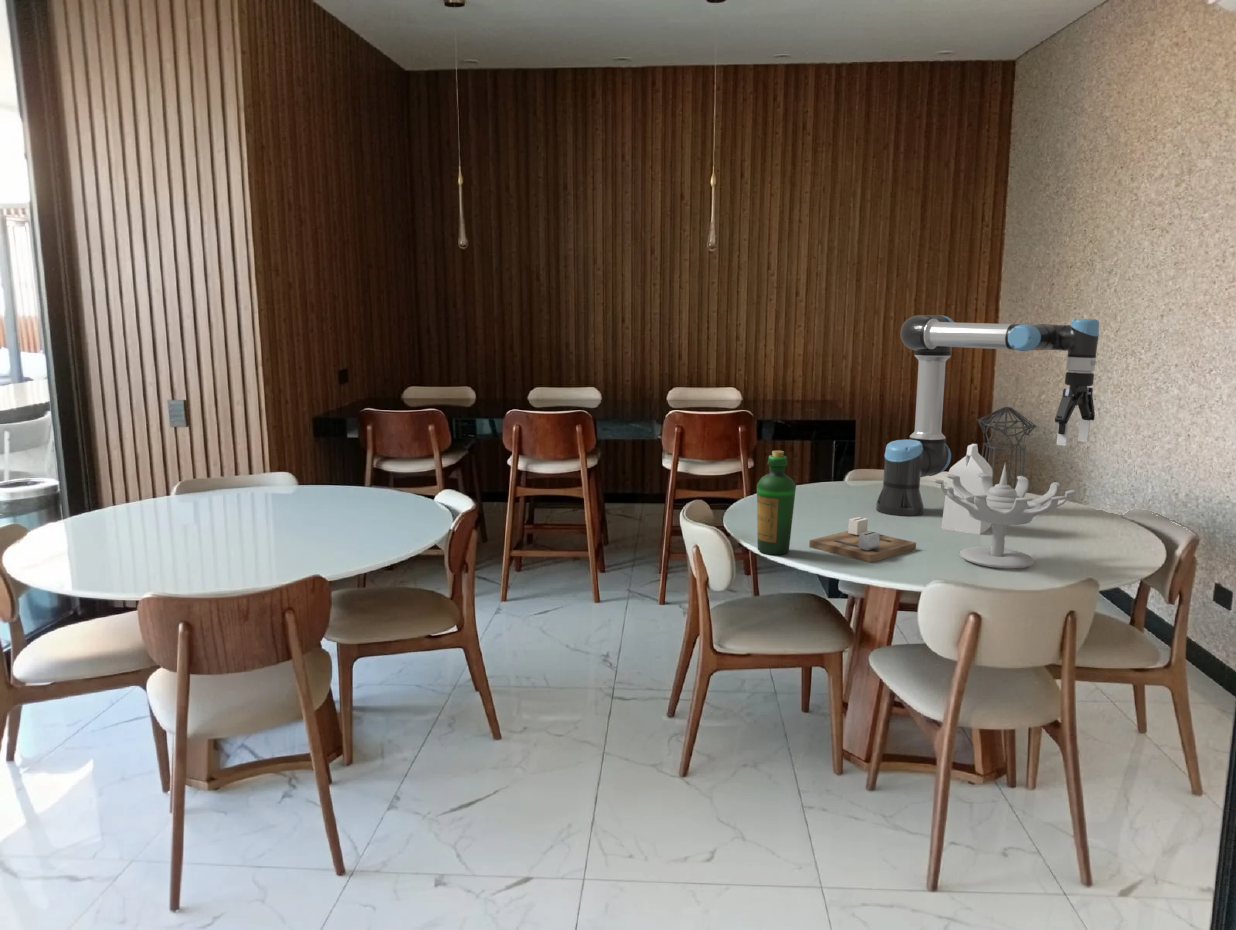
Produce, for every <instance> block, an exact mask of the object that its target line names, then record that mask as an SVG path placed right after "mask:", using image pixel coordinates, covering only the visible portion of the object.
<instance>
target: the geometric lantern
mask: <svg viewBox="0 0 1236 930" xmlns="http://www.w3.org/2000/svg"><path fill="white" fill-rule="evenodd" d="M1004 415H1005V417H1004V421H1000V420H1001V418H1003V416H1004ZM1008 416H1009V419H1010V420H1008ZM1012 416H1013V417H1012ZM987 418H988V419H987ZM1013 418H1014V419H1015V420H1014V419H1013ZM976 421H977V423H978V424H979V426H980V428H981V432H982V434H983V435H982V436H983V437H982V438H983V439H982V441H983V443H982V451H981V454H980V455H981V456H982V457H983V458H984V459H985V460H986V461H987V463H988V464H989V465H990V461H991V453H992V450H993V458H992V467H991V468H992V471H993V475H992V483H993V484H994V478H995V477H994V475H995V463H996V462H995V461H996V450H1010V457H1009V464H1008V473H1007V484H1008V485H1010V478H1011V477H1010V476H1011V470H1012V469H1011V468H1012V461H1013V452H1014V450H1015V456H1014V457H1015V459H1014V476H1013V477H1014V478H1013V481H1014V482H1013V489H1014V490H1015V488H1016V485H1017V467H1018V476H1023V477H1025V467H1026V466H1025V464H1026V463H1025V461H1026V447H1025V440H1026V436H1030V433H1032V431H1034V429H1035V428H1038V425H1035V424H1034V423H1033V422H1032V421H1030V420H1029V419H1028V418H1026V417H1024V416H1023V415H1022V414H1021V413H1019V412H1018V411H1017V410H1015V409H1014V408H1013V407H1009V406H1004V407H1002V408H1000V409H997V410H996V411H994V412H991V413H989V414H987V415H985V416H982V417H980V418H978V419H976ZM993 423H994V424H993ZM1008 423H1009V424H1011V425H1009V426H1007V424H1008ZM1017 423H1021V426H1016V424H1017ZM1002 424H1004V425H1002ZM1000 427H1001V428H1000ZM989 428H991V429H993V432H992V433H991V436H990V437H989V436H988V435H989V434H988V433H987V432H988V430H989ZM1002 428H1003V429H1002ZM1009 429H1014V434H1008V431H1007V430H1009ZM1019 429H1022V430H1020V431H1019V432H1017V431H1016V430H1019ZM997 431H998V432H1001V433H1002V434H1003V435H1002V437H1001V438H1000V439H999V440H998V441H997V442H990V441H991V440H992V438H993V436H994V434H995V433H996V432H997ZM1022 433H1023V434H1022ZM1020 434H1022V435H1021V436H1020V438H1019V439H1018V435H1020ZM985 437H986V440H987V442H986V441H985ZM1005 437H1007V439H1008V441H1010V443H1003V442H1002V443H1001V441H1002V440H1003V439H1004V438H1005ZM1010 437H1015V439H1016V442H1017V443H1013V442H1012V441H1011V439H1010ZM1022 439H1023V442H1022V445H1021V444H1020V443H1021V441H1022ZM992 445H994V446H992ZM997 445H1004V446H1005V445H1008V446H1011V448H1010V447H1009V448H1008V447H996V446H997ZM1014 447H1015V448H1014ZM1018 447H1019V448H1018ZM985 448H986V449H985ZM988 451H989V452H988ZM1018 451H1019V452H1018ZM1022 451H1023V452H1022ZM984 452H985V454H984ZM1018 453H1019V454H1018ZM1018 459H1019V460H1018ZM1017 465H1018V466H1017ZM1021 467H1022V468H1021ZM1021 469H1022V470H1021ZM1021 473H1022V475H1021Z"/></svg>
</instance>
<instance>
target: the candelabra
mask: <svg viewBox="0 0 1236 930" xmlns="http://www.w3.org/2000/svg"><path fill="white" fill-rule="evenodd" d="M1006 468H1007V467H1006V463H1004V466H1003V469H1002V472H1001V476H1000V480H999V483H996V484H995V485H994V482H993V483H992V477H991V476H989V475H988V474H984V473H978V474H977V475H978V476H979V477H981V488H982V494H976V495H973V494H971V493H970V492H968V491H967V490H966V489H965V488H964V487H963V486H962V485H961V482H960V477H959V476H956V475H952V474H948V473H947V474H945V476H946V477H947V479H948V478H950V479H953V482H952V483H953V486H954V488H955V489H956V491H957V492H958V493H959V494H960V495H961V496H962V497H963V498H960V497H958V496H956V495H954V489H953V488H952V487H947V486H945V484H944V480H943V479H938V478H937V479H936V478H935V479H933V482H934V483H936V484H940V490H941V491H942V494H944V495H945V496H946V495H947V496H948V497H949V498H950V499H951V500H953V501H954V502H956V503H957V504H959V505H961V506H963V507H964V508H966V509H967V510H968V511H969V515H970V516H971V517H972V518H974V519H977V520H979V521H983V522H988V523H990V527H991V530H992V538H991V542H990V546H971V547H966V548H964V549H962V550H960V552H959V556H960V557H961V558H962V559H964V560H965V561H967V562H969V563H972V564H976V565H979V566H984V567H987V568H988V567H989V568H995V569H996V568H997V569H1011V570H1012V569H1023V568H1029V567H1031V566H1033V565H1034V564H1035V559H1034V557H1032V556H1031V555H1029V554H1026V553H1025V552H1023V551H1018V550H1015V549H1012V548H1011V549H1010V548H1005V544H1006V543H1005V534H1006V531H1007V529H1008V526H1020V525H1026V524H1029V523H1031V522H1032V521H1033V519H1034V517H1036V516H1038V515H1040V514H1044V513H1046V512H1047V513H1048V512H1049V511H1051V510H1054V509H1056V508H1058V507H1060V506H1062V505H1064V504H1065V503H1066V502H1067V501H1068V496H1071V495H1074V494H1076V493H1077V490H1075V489H1070V490H1066V491H1065V493H1064V495H1059V496H1058V495H1057V493H1058V488H1060V486H1061V483H1059V482H1057V481H1056V482H1055V481H1054V482H1052V483H1051V484H1050V486H1049V490H1047V492H1046V493H1045V494H1042V496H1040V497H1038V498H1035V499H1033V498H1032V497H1025V496H1026V494H1027V492H1028V490H1029V486H1030V485H1029V482H1030V481H1029V479H1028V478H1027V477H1026V476H1024V477H1023V476H1022V475H1020V476H1019V475H1016V480H1017V481H1016V488H1015V490H1014V487H1013V488H1012V486H1011V485H1010V484H1009V485H1008V484H1007V480H1008V477H1007V470H1006ZM1056 495H1057V496H1056ZM1049 501H1050V502H1049ZM1048 502H1049V503H1048ZM1047 503H1048V504H1047Z"/></svg>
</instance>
